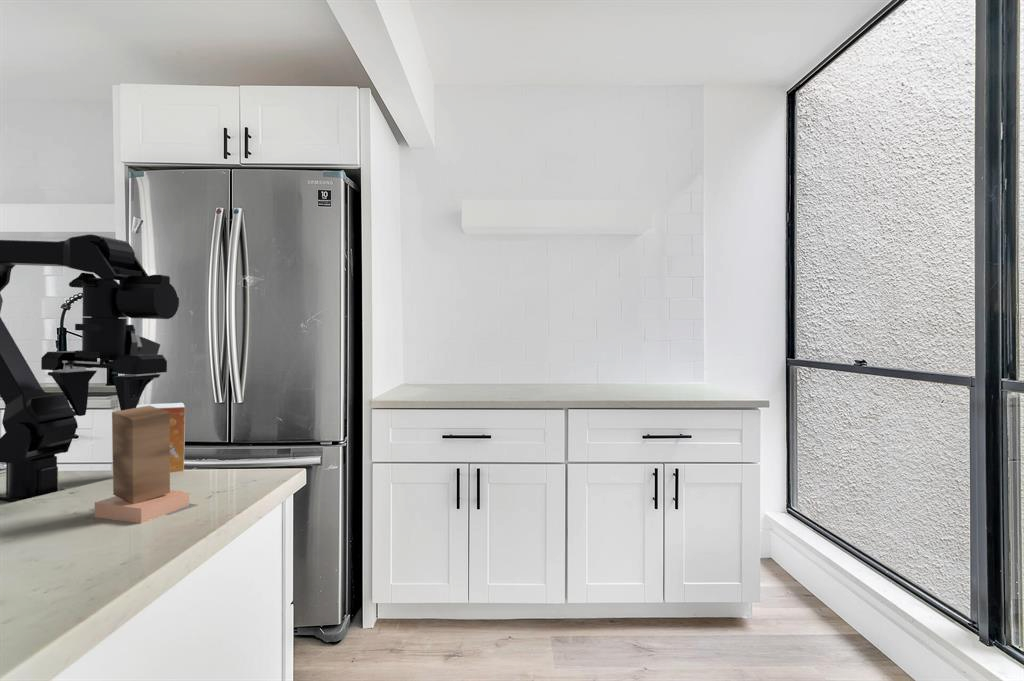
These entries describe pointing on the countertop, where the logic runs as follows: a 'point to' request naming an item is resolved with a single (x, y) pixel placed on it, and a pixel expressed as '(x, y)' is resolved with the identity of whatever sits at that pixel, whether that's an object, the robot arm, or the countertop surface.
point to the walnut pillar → (141, 453)
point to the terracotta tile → (141, 507)
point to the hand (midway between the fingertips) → (104, 417)
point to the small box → (175, 433)
